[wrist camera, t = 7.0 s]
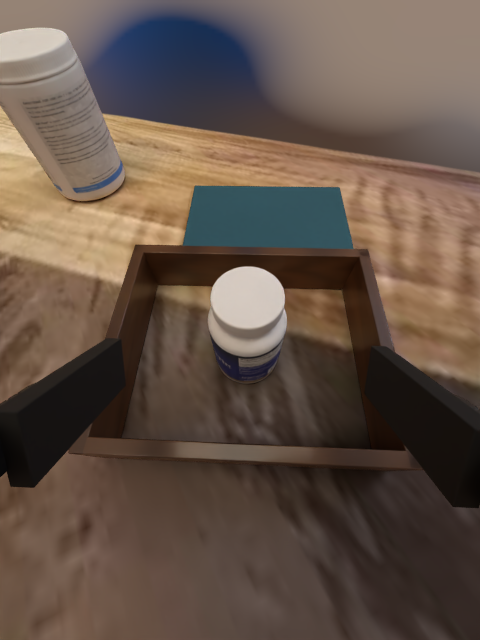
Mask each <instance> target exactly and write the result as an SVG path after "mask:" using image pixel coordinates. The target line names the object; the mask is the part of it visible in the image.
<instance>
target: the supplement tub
mask: <svg viewBox="0 0 480 640" xmlns="http://www.w3.org/2000/svg"><path fill="white" fill-rule="evenodd" d="M0 106H1V107H2V109H3V110H4V112H5V113H6V114H7V116H8V117H9V119H10V120H11V122H12V123H13V125H14V126H15V128H16V129H17V131H18V132H19V134H20V135H21V137H22V138H23V139H24V141H25V142H26V144H27V145H28V147H29V148H30V150H31V151H32V153H33V154H34V156H35V157H36V159H37V160H38V162H39V163H40V165H41V166H42V167H43V169H44V170H45V172H46V173H47V175H48V176H49V178H50V179H51V181H52V182H53V184H54V185H55V186H56V188H57V189H58V191H59V192H60V193H61V194H62V195H63V196H65V197H67V198H69V199H72V200H76V201H89V200H96V199H100V198H103V197H106V196H108V195H110V194H111V193H113V192H114V191H116V190H117V189H118V188H119V187H120V186H121V184H122V183H123V181H124V178H125V170H124V167H123V164H122V162H121V159H120V157H119V155H118V152H117V150H116V147H115V145H114V142H113V140H112V137H111V135H110V132H109V130H108V128H107V125H106V123H105V120H104V118H103V115H102V113H101V111H100V108H99V106H98V103H97V101H96V98H95V96H94V94H93V91H92V89H91V86H90V84H89V82H88V79H87V77H86V74H85V72H84V70H83V67H82V65H81V62H80V60H79V58H78V57H77V54H76V52H75V51H74V49H73V47H72V45H71V43H70V40H69V38H68V36H67V35H66V33H64V32H63V31H61V30H58V29H53V28H30V29H21V30H15V31H9V32H5V33H1V34H0Z"/></svg>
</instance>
